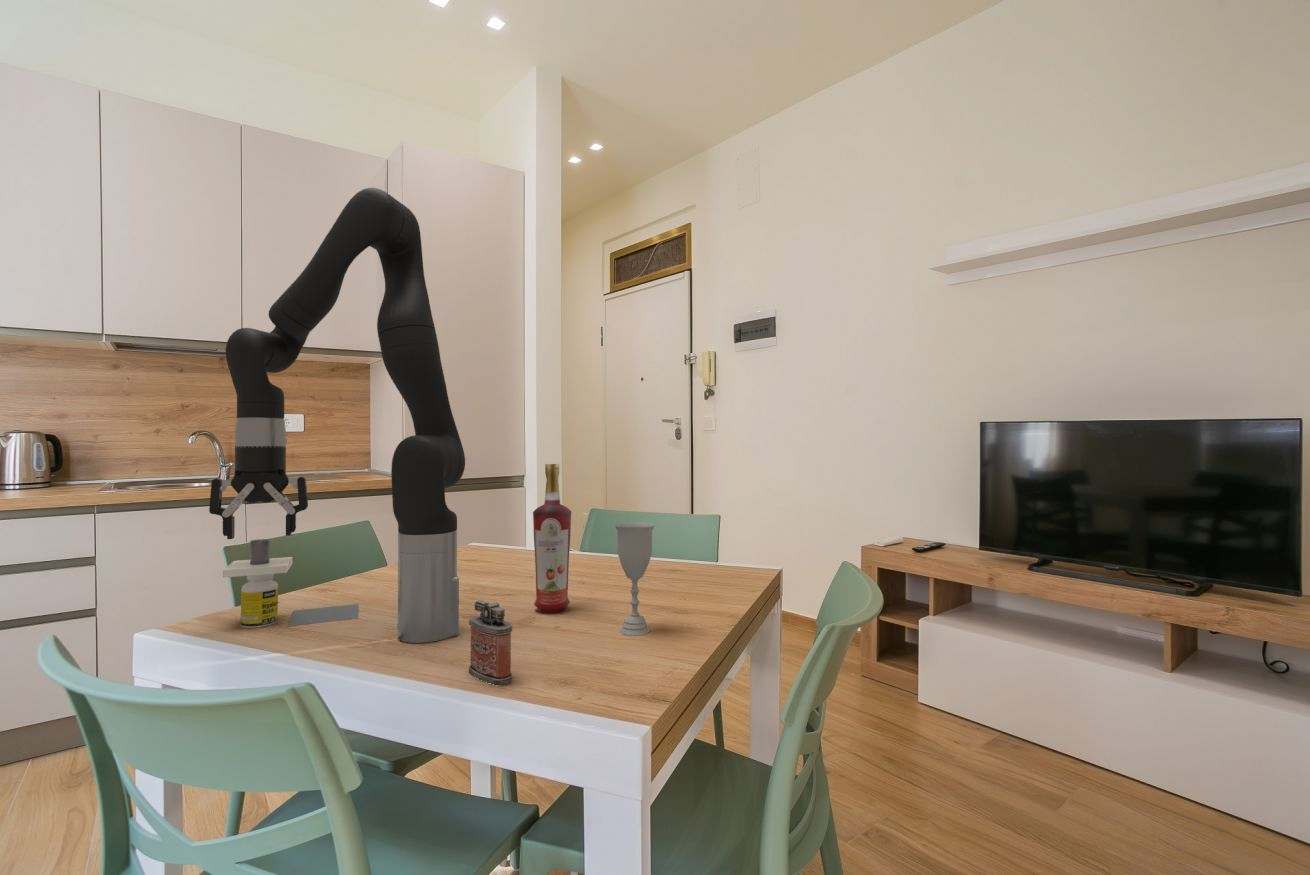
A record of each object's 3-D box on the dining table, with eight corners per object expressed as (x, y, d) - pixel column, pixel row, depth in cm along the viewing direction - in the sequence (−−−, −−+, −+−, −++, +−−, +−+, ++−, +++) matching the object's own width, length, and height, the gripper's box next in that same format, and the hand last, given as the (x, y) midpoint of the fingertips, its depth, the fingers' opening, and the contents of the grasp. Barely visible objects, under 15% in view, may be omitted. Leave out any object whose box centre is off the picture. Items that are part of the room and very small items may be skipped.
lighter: (518, 680, 80) (518, 606, 80) (496, 688, 78) (496, 611, 78) (484, 666, 85) (484, 596, 86) (463, 672, 83) (463, 600, 83)
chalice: (646, 639, 97) (646, 528, 98) (607, 635, 99) (607, 526, 100) (660, 626, 104) (660, 523, 104) (624, 622, 106) (624, 521, 107)
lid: (292, 563, 111) (292, 535, 111) (286, 572, 102) (286, 542, 103) (233, 567, 107) (234, 538, 107) (222, 577, 99) (223, 546, 99)
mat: (358, 606, 117) (358, 603, 117) (358, 621, 107) (358, 618, 107) (293, 613, 112) (293, 610, 112) (286, 629, 102) (286, 626, 102)
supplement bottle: (264, 631, 102) (264, 573, 102) (232, 630, 102) (233, 573, 102) (284, 621, 107) (285, 567, 107) (254, 621, 107) (255, 566, 107)
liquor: (572, 604, 119) (572, 463, 119) (569, 614, 112) (570, 464, 112) (535, 605, 118) (535, 463, 119) (530, 615, 111) (530, 464, 112)
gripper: (205, 444, 98) (205, 543, 98) (305, 444, 105) (305, 537, 104) (216, 444, 105) (215, 537, 105) (309, 444, 111) (309, 531, 111)
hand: (260, 537), depth 105 cm, fingers open, 8 cm apart
